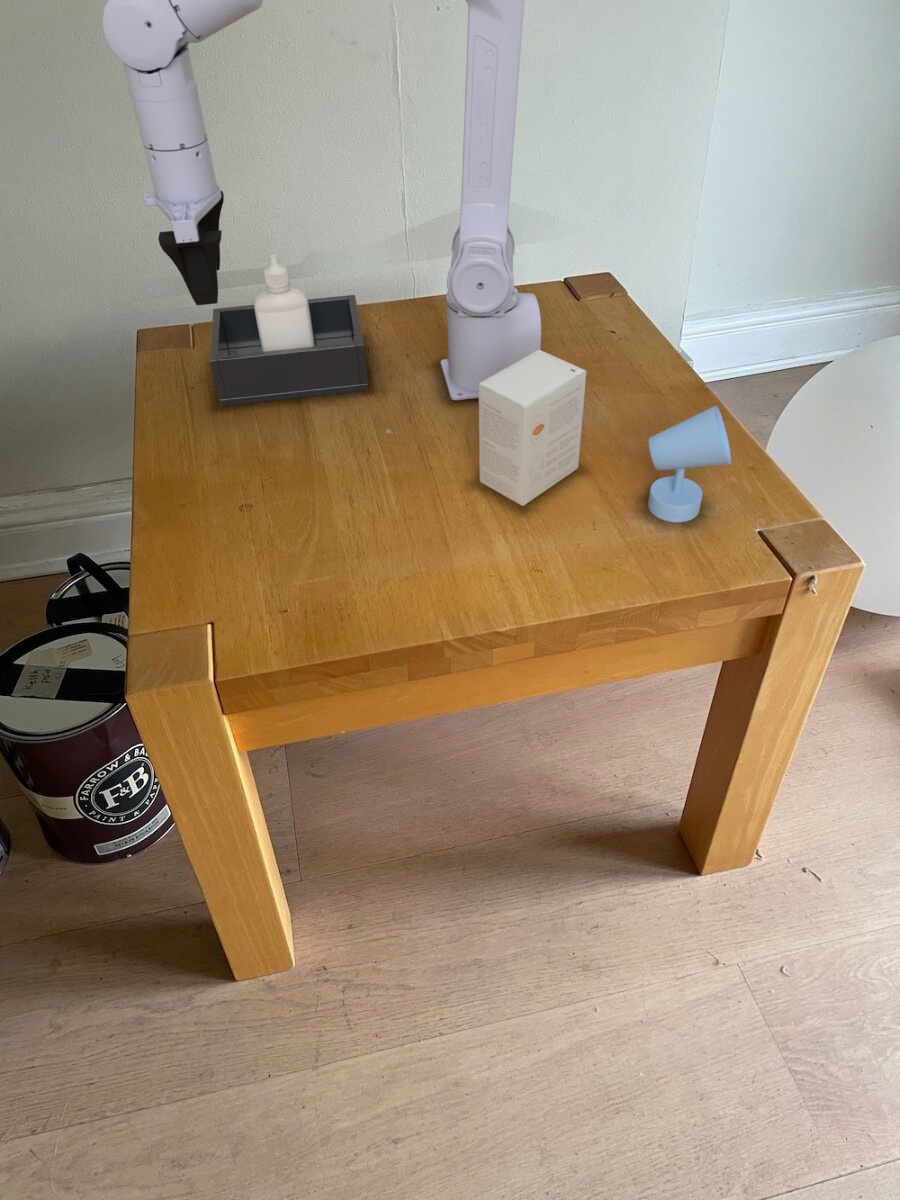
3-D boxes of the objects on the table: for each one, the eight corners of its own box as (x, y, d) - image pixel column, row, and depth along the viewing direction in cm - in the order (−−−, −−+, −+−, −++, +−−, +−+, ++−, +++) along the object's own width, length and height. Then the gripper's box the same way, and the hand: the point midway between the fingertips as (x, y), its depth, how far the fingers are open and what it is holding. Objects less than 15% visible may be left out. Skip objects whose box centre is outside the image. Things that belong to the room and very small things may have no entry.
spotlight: (718, 493, 80) (640, 486, 81) (740, 396, 73) (655, 389, 74) (719, 528, 76) (638, 520, 77) (743, 429, 69) (653, 422, 70)
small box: (534, 446, 86) (539, 346, 79) (579, 469, 83) (589, 368, 76) (477, 482, 82) (476, 381, 75) (522, 508, 79) (525, 406, 72)
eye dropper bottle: (305, 378, 95) (288, 268, 86) (259, 370, 96) (237, 261, 88) (323, 358, 98) (308, 250, 89) (278, 351, 99) (258, 244, 91)
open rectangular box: (359, 338, 102) (354, 294, 99) (369, 390, 94) (364, 344, 90) (223, 352, 101) (213, 308, 97) (220, 406, 93) (209, 360, 89)
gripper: (137, 120, 85) (172, 259, 94) (121, 172, 75) (162, 323, 84) (212, 114, 86) (239, 253, 95) (206, 165, 75) (238, 315, 85)
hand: (208, 286), depth 90 cm, fingers open, 7 cm apart
